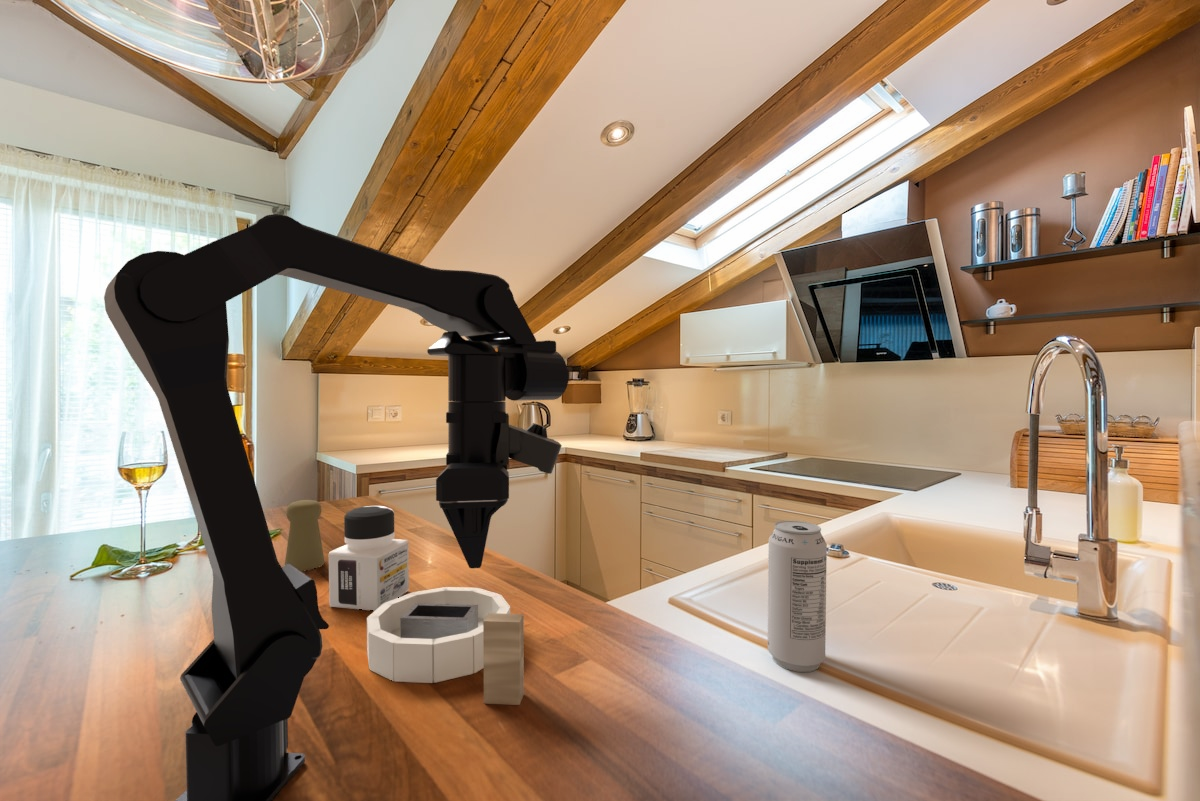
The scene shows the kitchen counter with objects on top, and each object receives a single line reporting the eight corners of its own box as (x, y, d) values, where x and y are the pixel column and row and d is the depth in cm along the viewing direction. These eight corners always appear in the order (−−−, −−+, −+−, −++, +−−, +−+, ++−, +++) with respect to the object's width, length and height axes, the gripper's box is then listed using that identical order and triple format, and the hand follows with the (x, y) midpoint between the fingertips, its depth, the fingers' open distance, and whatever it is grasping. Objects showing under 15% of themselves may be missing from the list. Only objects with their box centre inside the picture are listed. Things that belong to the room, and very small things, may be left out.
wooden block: (519, 704, 52) (519, 622, 52) (483, 703, 52) (483, 621, 52) (523, 694, 54) (523, 614, 53) (488, 692, 54) (488, 613, 54)
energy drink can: (802, 644, 64) (804, 518, 64) (837, 670, 58) (839, 531, 58) (757, 651, 62) (758, 521, 62) (788, 678, 57) (789, 535, 56)
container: (378, 612, 73) (377, 516, 73) (328, 607, 75) (326, 513, 74) (409, 591, 81) (409, 503, 80) (363, 587, 82) (362, 501, 82)
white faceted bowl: (487, 685, 55) (487, 646, 55) (339, 679, 56) (339, 641, 56) (520, 619, 71) (520, 588, 71) (404, 615, 72) (403, 585, 72)
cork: (286, 562, 93) (285, 499, 93) (325, 558, 96) (324, 496, 95) (282, 574, 88) (281, 506, 87) (324, 568, 90) (323, 502, 90)
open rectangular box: (469, 650, 61) (469, 621, 61) (396, 648, 61) (395, 619, 61) (481, 630, 66) (481, 603, 66) (414, 628, 66) (414, 601, 66)
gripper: (566, 404, 48) (565, 580, 48) (548, 399, 66) (548, 527, 67) (435, 404, 46) (435, 588, 46) (453, 399, 64) (454, 530, 65)
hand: (477, 553), depth 56 cm, fingers open, 9 cm apart
